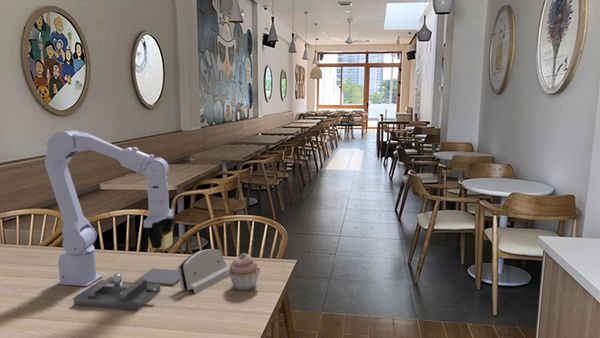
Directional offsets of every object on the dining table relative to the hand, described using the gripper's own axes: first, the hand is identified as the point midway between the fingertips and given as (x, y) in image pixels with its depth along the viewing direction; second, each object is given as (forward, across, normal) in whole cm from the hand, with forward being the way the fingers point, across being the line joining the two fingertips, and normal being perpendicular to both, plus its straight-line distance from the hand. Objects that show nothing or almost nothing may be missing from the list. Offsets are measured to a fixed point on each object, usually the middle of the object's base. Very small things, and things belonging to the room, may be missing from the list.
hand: (160, 244), depth 134 cm
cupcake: (+10, -2, -26) cm, 28 cm away
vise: (+10, -15, +4) cm, 19 cm away
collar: (0, 0, 0) cm, 0 cm away
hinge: (+11, 0, -13) cm, 17 cm away
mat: (+10, 0, 0) cm, 10 cm away
